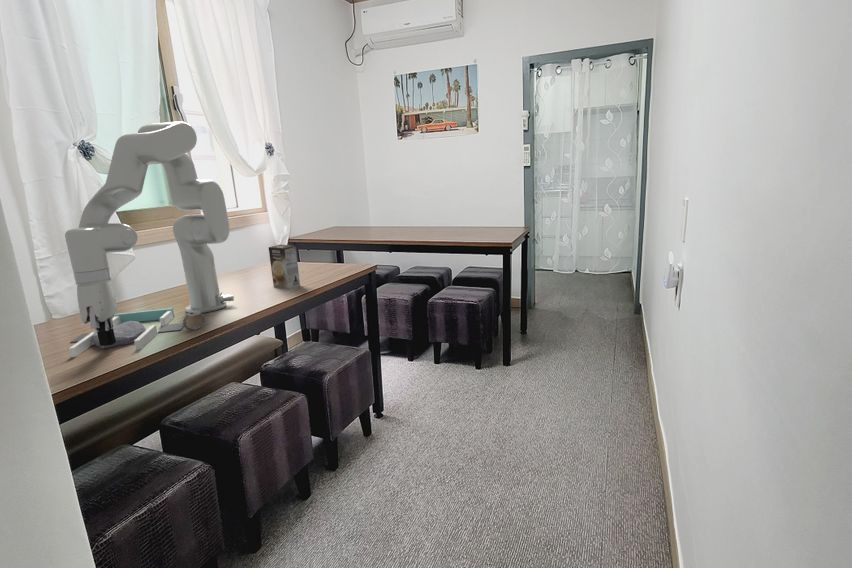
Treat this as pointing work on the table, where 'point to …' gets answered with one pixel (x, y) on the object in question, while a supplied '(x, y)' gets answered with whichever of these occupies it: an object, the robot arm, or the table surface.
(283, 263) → the coffee box
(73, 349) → the trap channel
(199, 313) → the wristwatch
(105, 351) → the table surface
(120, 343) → the stone block
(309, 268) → the table surface
